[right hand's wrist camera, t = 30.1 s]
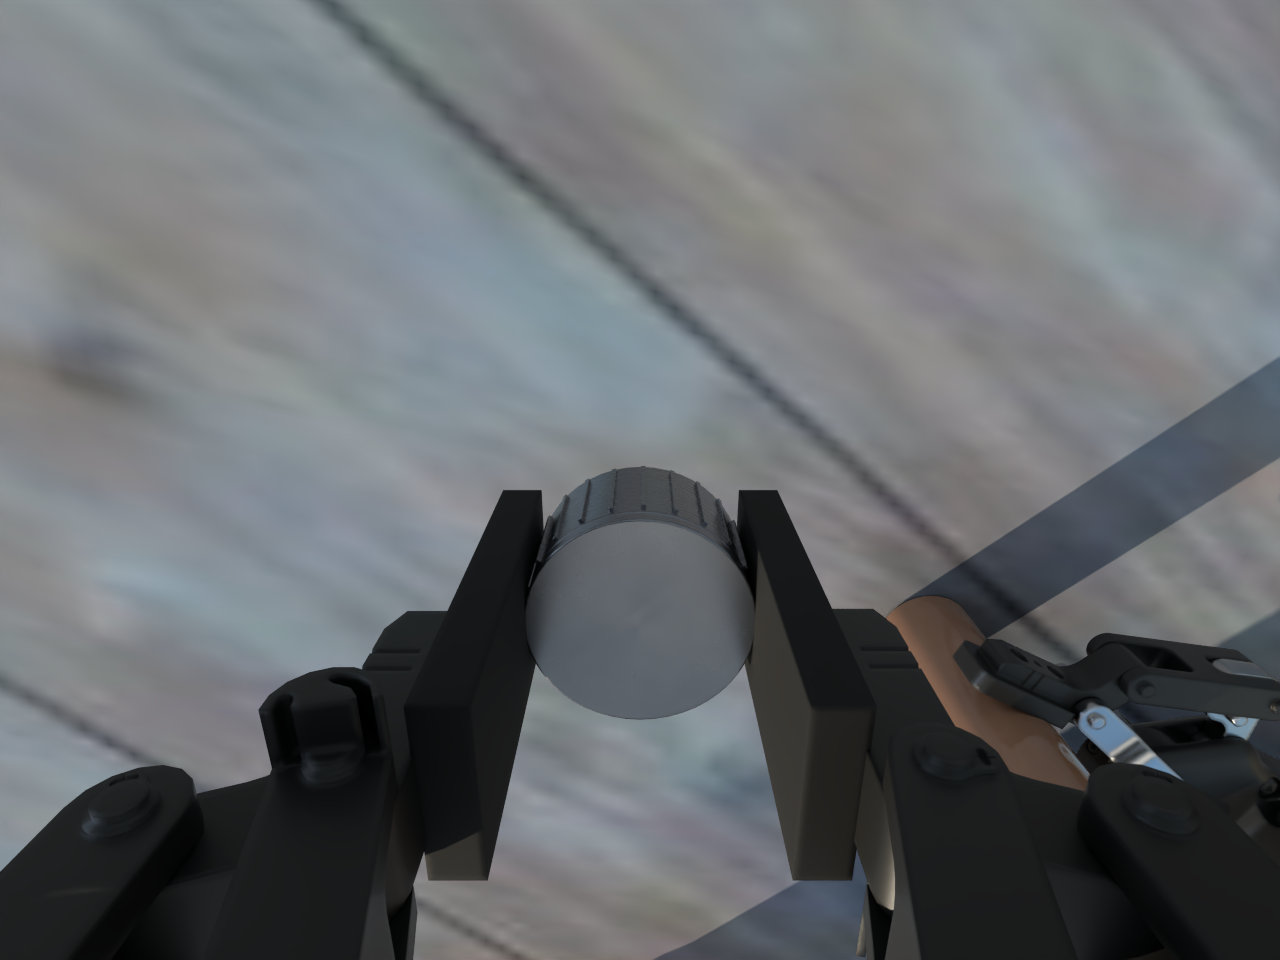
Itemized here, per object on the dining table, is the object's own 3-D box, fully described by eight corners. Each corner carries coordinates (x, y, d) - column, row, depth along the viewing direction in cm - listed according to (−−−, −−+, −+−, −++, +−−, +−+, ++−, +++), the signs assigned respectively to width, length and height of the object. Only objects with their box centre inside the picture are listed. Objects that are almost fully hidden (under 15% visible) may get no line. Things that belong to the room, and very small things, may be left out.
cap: (499, 524, 14) (472, 585, 12) (681, 425, 14) (689, 472, 11) (604, 673, 16) (598, 755, 13) (776, 591, 15) (800, 662, 13)
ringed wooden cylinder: (955, 581, 32) (1955, 1826, 8) (981, 652, 33) (1896, 1894, 9) (865, 616, 32) (1526, 1865, 8) (895, 684, 34) (1533, 1923, 10)
